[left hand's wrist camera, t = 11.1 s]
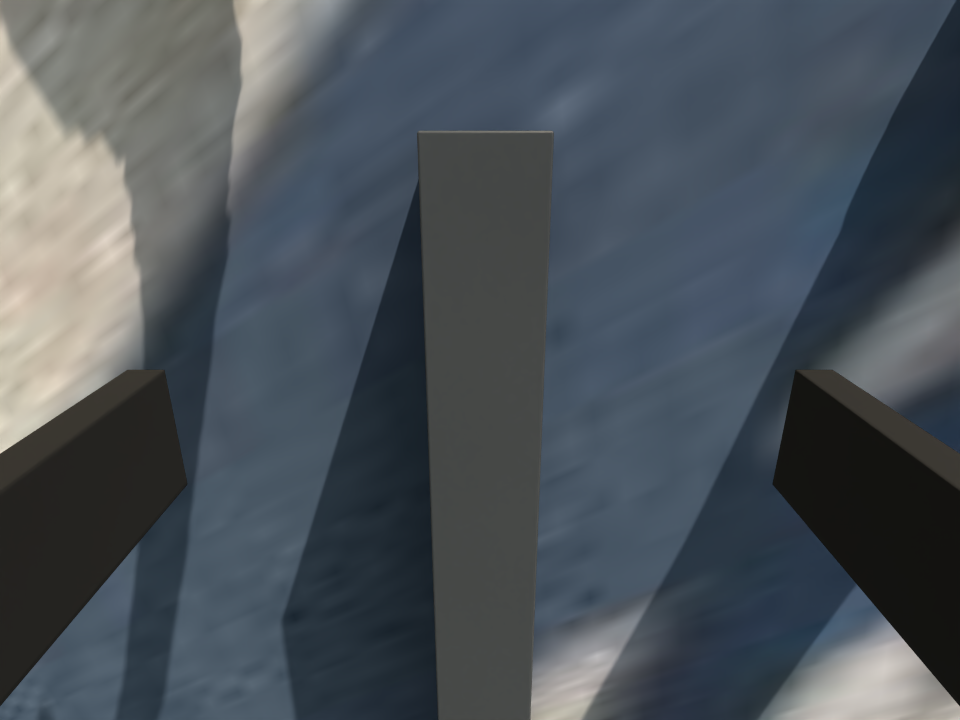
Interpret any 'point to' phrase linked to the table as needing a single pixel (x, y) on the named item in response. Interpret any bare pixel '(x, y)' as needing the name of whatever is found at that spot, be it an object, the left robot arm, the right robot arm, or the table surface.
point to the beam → (484, 406)
